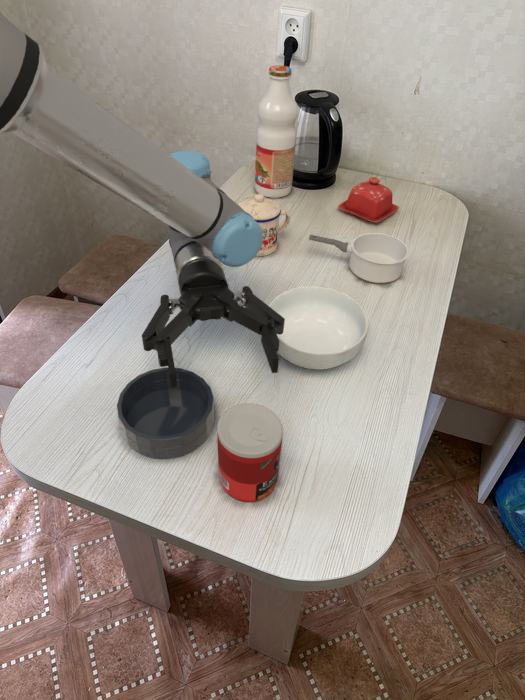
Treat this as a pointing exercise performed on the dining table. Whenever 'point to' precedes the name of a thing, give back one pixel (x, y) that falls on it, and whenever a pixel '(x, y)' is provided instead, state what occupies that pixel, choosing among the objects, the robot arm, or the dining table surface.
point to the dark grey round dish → (166, 413)
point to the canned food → (249, 451)
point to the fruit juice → (276, 136)
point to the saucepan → (373, 255)
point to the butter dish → (370, 201)
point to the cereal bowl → (319, 326)
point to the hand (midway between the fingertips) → (225, 373)
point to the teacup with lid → (266, 220)
